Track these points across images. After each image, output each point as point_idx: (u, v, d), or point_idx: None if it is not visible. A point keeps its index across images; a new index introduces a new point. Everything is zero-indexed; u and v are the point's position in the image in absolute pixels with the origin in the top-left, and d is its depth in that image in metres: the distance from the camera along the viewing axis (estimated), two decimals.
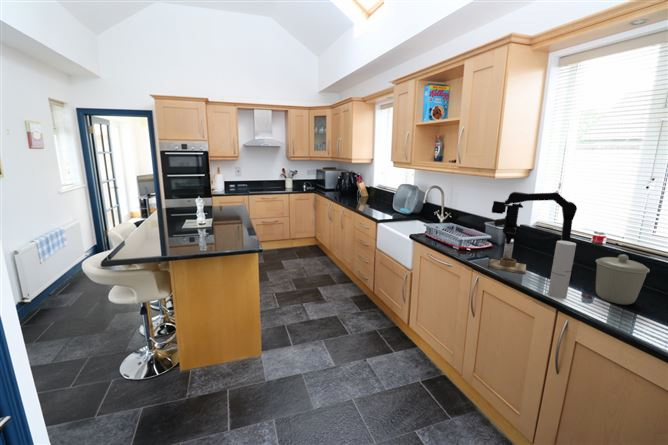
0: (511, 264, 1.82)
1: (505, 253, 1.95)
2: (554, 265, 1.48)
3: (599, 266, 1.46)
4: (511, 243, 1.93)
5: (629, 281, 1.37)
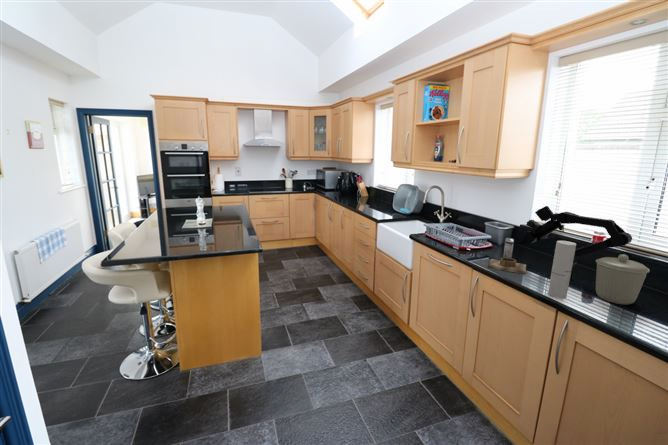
0: (511, 264, 1.82)
1: (505, 253, 1.95)
2: (554, 265, 1.48)
3: (599, 266, 1.46)
4: (511, 243, 1.93)
5: (629, 281, 1.37)
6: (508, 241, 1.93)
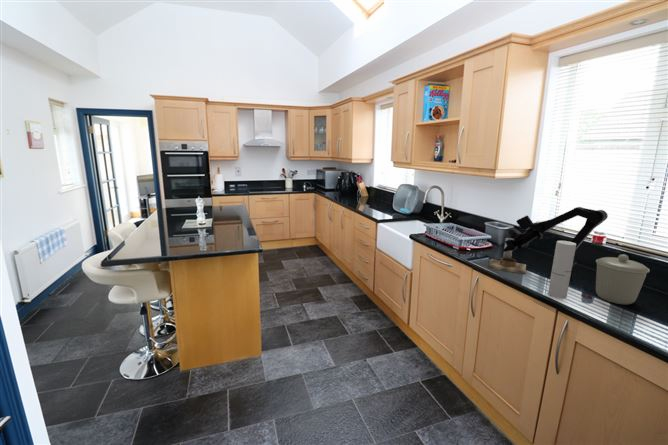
0: (511, 264, 1.82)
1: (505, 253, 1.95)
2: (554, 265, 1.48)
3: (599, 266, 1.46)
4: None
5: (629, 281, 1.37)
6: None
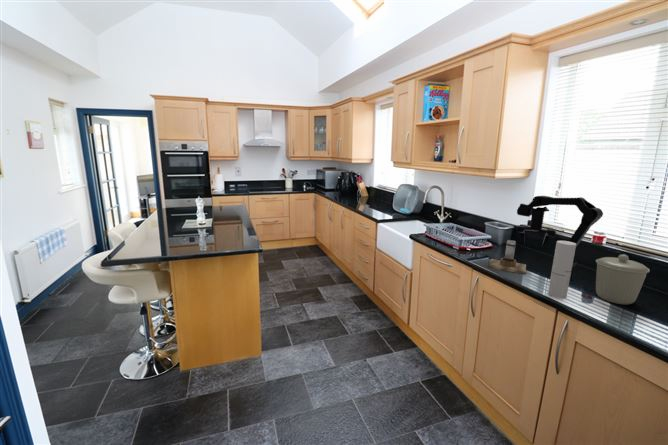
0: (511, 264, 1.82)
1: (508, 256, 1.84)
2: (554, 265, 1.48)
3: (599, 266, 1.46)
4: (514, 245, 1.82)
5: (629, 281, 1.37)
6: (512, 244, 1.82)
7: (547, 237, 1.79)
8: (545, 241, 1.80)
